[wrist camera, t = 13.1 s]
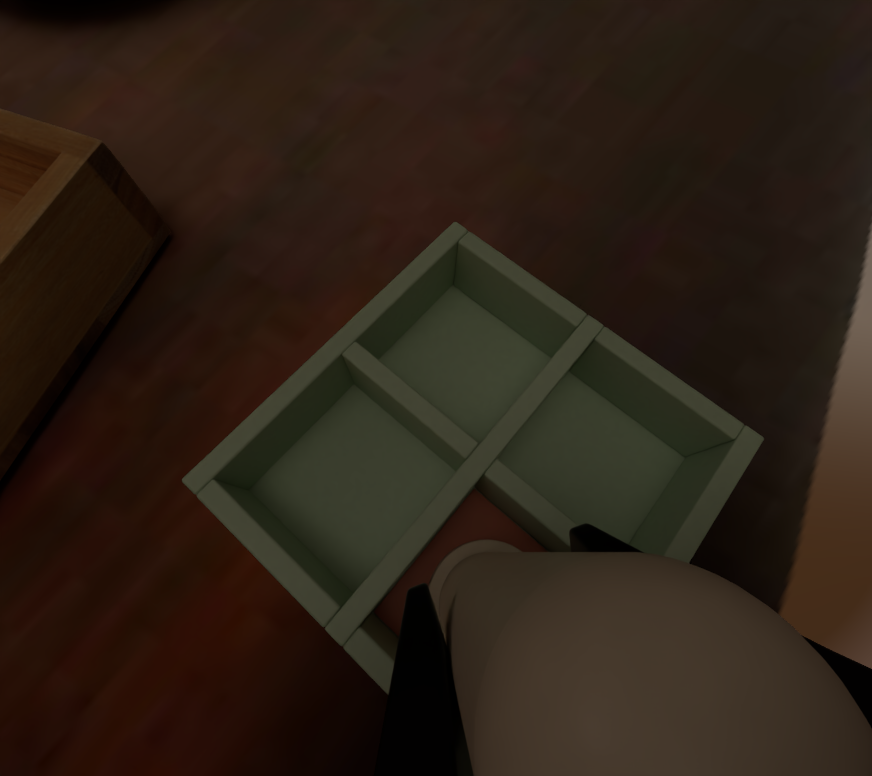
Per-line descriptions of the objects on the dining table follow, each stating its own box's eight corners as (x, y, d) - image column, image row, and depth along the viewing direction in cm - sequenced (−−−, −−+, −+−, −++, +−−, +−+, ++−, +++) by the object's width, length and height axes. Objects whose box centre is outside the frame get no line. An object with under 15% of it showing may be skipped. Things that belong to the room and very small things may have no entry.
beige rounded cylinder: (539, 681, 14) (1393, 1656, 2) (416, 658, 14) (353, 1398, 2) (548, 550, 16) (1051, 544, 3) (436, 531, 16) (478, 448, 3)
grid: (700, 459, 18) (765, 438, 14) (500, 767, 14) (524, 837, 11) (450, 274, 20) (455, 219, 17) (228, 493, 17) (179, 479, 13)
